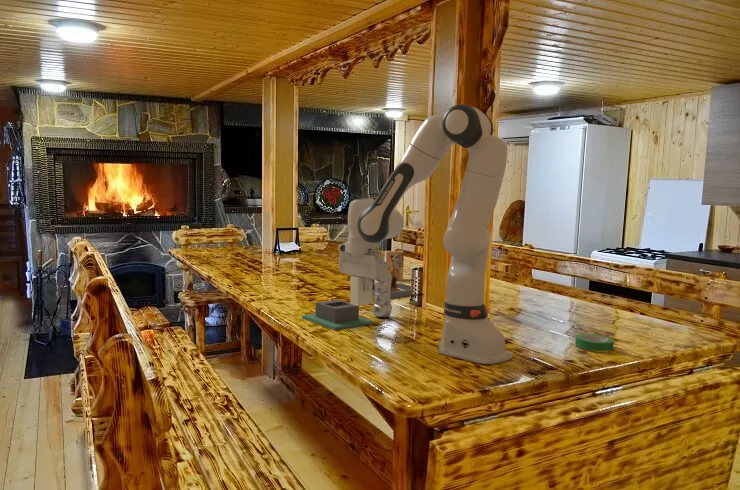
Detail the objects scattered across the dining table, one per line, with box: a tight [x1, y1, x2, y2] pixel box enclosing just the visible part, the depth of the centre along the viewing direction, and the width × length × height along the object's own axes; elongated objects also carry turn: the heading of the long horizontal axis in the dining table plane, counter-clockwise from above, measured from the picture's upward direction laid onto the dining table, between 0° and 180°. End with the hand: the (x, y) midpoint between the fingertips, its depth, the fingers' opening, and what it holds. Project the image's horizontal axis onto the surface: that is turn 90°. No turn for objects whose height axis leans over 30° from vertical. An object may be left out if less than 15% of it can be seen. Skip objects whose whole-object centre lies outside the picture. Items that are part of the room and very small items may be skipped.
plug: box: [349, 276, 373, 307], centre depth 190 cm, size 4×6×9 cm, turn 129°
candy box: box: [384, 250, 405, 281], centre depth 285 cm, size 9×4×15 cm, turn 103°
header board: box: [301, 299, 374, 331], centre depth 203 cm, size 20×16×6 cm
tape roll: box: [575, 333, 615, 352], centre depth 181 cm, size 11×11×3 cm
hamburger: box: [372, 275, 399, 292], centre depth 257 cm, size 16×13×10 cm
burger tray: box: [372, 281, 412, 300], centre depth 255 cm, size 20×22×3 cm
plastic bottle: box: [372, 261, 392, 319], centre depth 210 cm, size 6×7×20 cm
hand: (361, 289), depth 190 cm, fingers closed on plug, 4 cm apart
